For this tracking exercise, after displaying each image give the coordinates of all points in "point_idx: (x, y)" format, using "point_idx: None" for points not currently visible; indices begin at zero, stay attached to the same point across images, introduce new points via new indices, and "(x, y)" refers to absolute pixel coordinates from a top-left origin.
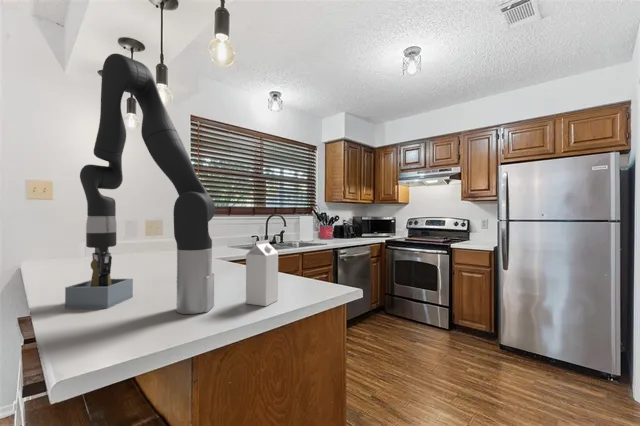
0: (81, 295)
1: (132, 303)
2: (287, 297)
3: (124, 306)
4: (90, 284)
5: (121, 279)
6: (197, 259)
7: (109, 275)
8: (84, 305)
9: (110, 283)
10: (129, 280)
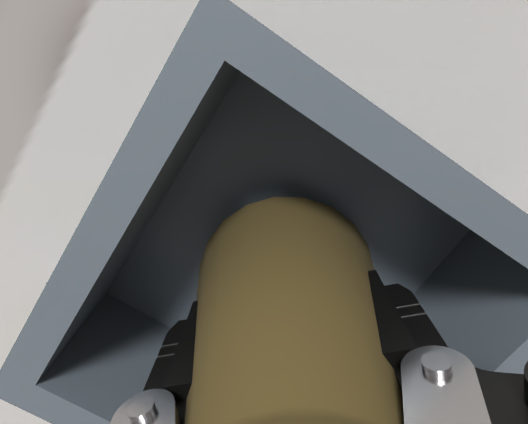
0: None
1: (470, 38)
2: None
3: (523, 103)
4: (130, 397)
5: (177, 141)
6: None
7: (339, 324)
8: None
9: (335, 258)
10: (281, 40)
